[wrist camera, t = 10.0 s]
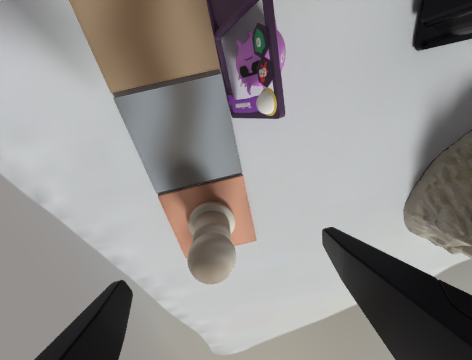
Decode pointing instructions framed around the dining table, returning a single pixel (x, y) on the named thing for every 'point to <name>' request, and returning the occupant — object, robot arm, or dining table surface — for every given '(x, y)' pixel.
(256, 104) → the game card
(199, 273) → the pawn
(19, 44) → the dining table surface
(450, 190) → the sand castle
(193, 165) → the game board
